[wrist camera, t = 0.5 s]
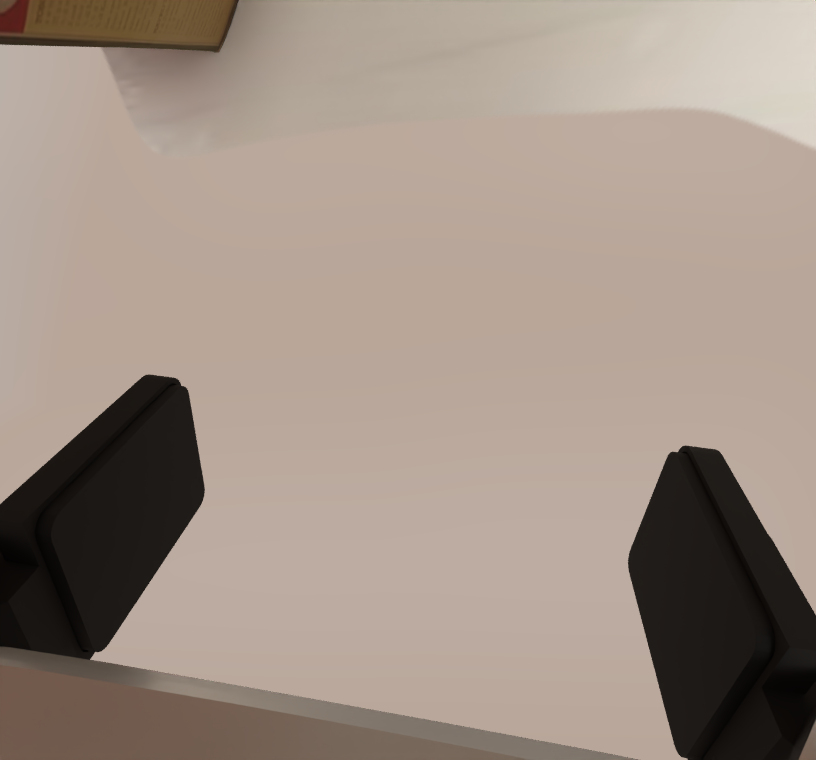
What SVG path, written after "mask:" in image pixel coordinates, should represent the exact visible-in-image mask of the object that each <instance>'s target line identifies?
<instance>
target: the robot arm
mask: <svg viewBox="0 0 816 760" xmlns="http://www.w3.org/2000/svg"><path fill="white" fill-rule="evenodd" d="M204 491H205V489H204V482H203V475H202V470H201V464H200V458H199V452H198V446H197V440H196V434H195V428H194V422H193V416H192V410H191V404H190V398H189V393H188V390H187V388H186V387H184V386H181V384H180V382H179V380H178V379H176V378H172V377H164V376H156V375H145V376H143V377H142V378H141V379H140V380H139V381H137V382H136V383H135V384H134V385H133V386H132V387H131V388H130V389H128V390H127V391H126V392H125V393H124V394H123V395H122V396H121V397H120V398H118V399H117V400H116V401H115V402H114V403H113V404H112V405H111V406H109V408H107V409H106V410H105V411H104V412H103V413H102V414H101V415H99V416H98V417H97V418H96V419H95V420H94V421H93V422H92V423H90V424H89V425H88V426H87V427H86V428H85V429H84V430H83V431H82V432H80V433H79V434H78V435H77V436H76V437H75V438H74V439H73V440H71V441H70V442H69V443H68V444H67V445H66V446H65V447H64V448H63V449H62V450H60V451H59V452H58V453H57V454H56V455H55V456H54V457H52V458H51V459H50V460H49V461H48V462H47V463H46V464H45V465H44V466H42V467H41V468H40V469H39V470H38V471H37V472H36V473H35V474H33V475H32V476H31V477H30V478H29V479H28V480H27V481H26V482H25V483H23V484H22V485H21V486H20V487H19V488H18V489H17V490H16V491H14V492H13V493H12V494H11V495H10V496H9V497H8V498H7V499H6V500H5V501H3V502H2V503H1V504H0V760H637V759H633V758H628V757H623V756H618V755H613V754H608V753H603V752H597V751H592V750H587V749H581V748H576V747H571V746H565V745H560V744H555V743H549V742H544V741H539V740H533V739H528V738H522V737H516V736H512V735H506V734H501V733H496V732H490V731H485V730H479V729H474V728H469V727H464V726H458V725H453V724H447V723H442V722H437V721H431V720H426V719H420V718H414V717H409V716H404V715H398V714H393V713H387V712H381V711H376V710H371V709H365V708H359V707H354V706H348V705H343V704H338V703H331V702H327V701H321V700H315V699H310V698H304V697H299V696H293V695H288V694H282V693H277V692H271V691H265V690H260V689H254V688H249V687H243V686H237V685H232V684H226V683H220V682H214V681H209V680H203V679H197V678H192V677H186V676H180V675H175V674H169V673H163V672H158V671H152V670H146V669H140V668H135V667H129V666H123V665H118V664H112V663H106V662H100V661H94V660H90V659H91V657H92V656H93V654H94V653H95V652H100V651H102V650H103V649H105V647H107V645H108V644H109V642H110V641H111V639H112V638H113V637H114V635H115V633H116V632H117V630H118V629H119V627H120V626H121V624H122V623H123V622H124V620H125V619H126V617H127V615H128V614H129V612H130V611H131V609H132V608H133V606H134V605H135V603H136V602H137V600H138V599H139V597H140V596H141V594H142V593H143V591H144V590H145V588H146V587H147V585H148V584H149V582H150V581H151V579H152V578H153V576H154V575H155V573H156V572H157V570H158V569H159V567H160V566H161V564H162V563H163V561H164V560H165V558H166V557H167V555H168V554H169V552H170V551H171V549H172V548H173V546H174V545H175V543H176V542H177V540H178V539H179V537H180V536H181V534H182V533H183V531H184V530H185V528H186V527H187V525H188V524H189V522H190V521H191V519H192V518H193V516H194V515H195V513H196V512H197V510H198V508H199V507H200V505H201V503H202V501H203V497H204ZM628 568H629V573H630V577H631V581H632V584H633V589H634V592H635V596H636V600H637V604H638V608H639V611H640V615H641V619H642V623H643V627H644V630H645V634H646V638H647V642H648V646H649V649H650V653H651V657H652V661H653V665H654V668H655V672H656V676H657V680H658V684H659V688H660V691H661V695H662V699H663V703H664V707H665V711H666V714H667V718H668V722H669V726H670V730H671V734H672V737H673V741H674V745H675V747H676V750H677V752H678V754H679V755H680V756H681V757H684V758H688V760H816V615H815V613H814V611H813V610H812V608H811V606H810V604H809V603H808V602H807V599H806V598H805V596H804V594H803V592H802V591H801V589H800V588H799V585H798V584H797V582H796V580H795V579H794V577H793V575H792V573H791V572H790V570H789V568H788V566H787V565H786V563H785V561H784V559H783V558H782V556H781V555H780V553H779V551H778V549H777V547H776V546H775V544H774V542H773V541H772V539H771V538H770V536H769V535H768V534H767V532H766V530H765V529H764V527H763V525H762V524H761V522H760V520H759V519H758V517H757V515H756V513H755V511H754V510H753V508H752V506H751V504H750V503H749V501H748V499H747V497H746V496H745V494H744V492H743V490H742V489H741V487H740V485H739V483H738V482H737V480H736V478H735V477H734V475H733V473H732V471H731V470H730V468H729V466H728V464H727V463H726V461H725V459H724V457H723V456H722V454H721V453H720V452H719V451H718V450H715V449H707V448H700V447H692V446H682V447H681V448H680V450H679V451H678V452H671V453H670V454H669V455H668V457H667V459H666V461H665V464H664V466H663V469H662V471H661V474H660V477H659V479H658V482H657V484H656V487H655V489H654V492H653V494H652V497H651V499H650V502H649V504H648V507H647V509H646V512H645V515H644V517H643V519H642V522H641V524H640V527H639V530H638V532H637V535H636V537H635V540H634V542H633V545H632V547H631V550H630V553H629V558H628Z"/></svg>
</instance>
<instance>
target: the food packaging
mask: <svg viewBox="0 0 816 760" xmlns="http://www.w3.org/2000/svg"><path fill="white" fill-rule="evenodd" d="M237 2H238V0H0V44H5V45H39V46H80V47H81V46H82V47H126V48H157V49H180V50H200V51H213V52H215V53H216V52H219V51H220V49H221V47H222V45H223V42H224V40H225V37H226V35H227V32H228V30H229V27H230V24H231V21H232V18H233V15H234V12H235V8H236V5H237Z"/></svg>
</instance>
